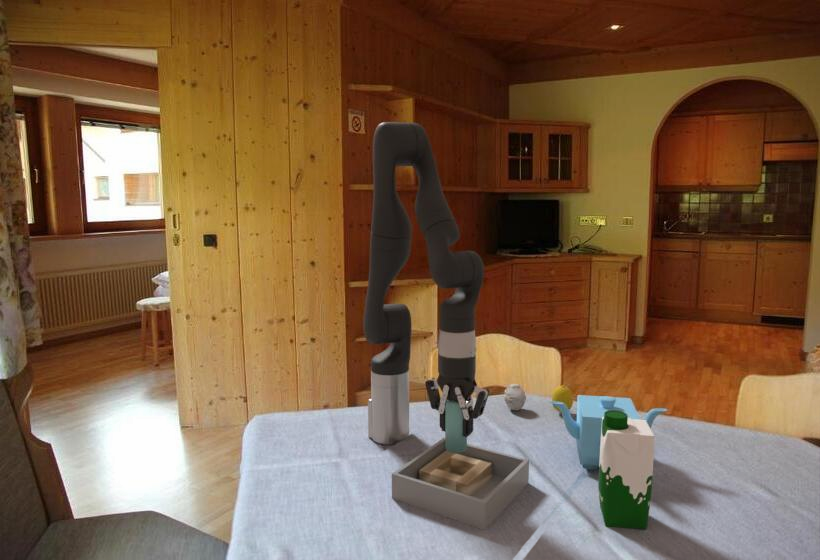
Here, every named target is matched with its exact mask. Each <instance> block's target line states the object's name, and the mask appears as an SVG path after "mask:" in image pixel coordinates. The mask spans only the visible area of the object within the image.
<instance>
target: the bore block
mask: <svg viewBox="0 0 820 560" xmlns="http://www.w3.org/2000/svg"><path fill="white" fill-rule="evenodd" d="M450 471H453V472H456V473H460V474H463V476H460V475H456V474H453V473H449V472H450ZM491 477H492V463H490V462H487V461H483V460H479V459H476V458H472V457H468V456H465V455H461V454H457V453H454V452H449V451H445V452H443V453H442V454H441V455H439V456H438V457H437V458H435V459H434V460H432V461H431V462H430V463H428V464H427V465H426V466H424V467H423V468H421V469H420V470H419V480H421V481H424V482H427V483H430V484H434V485H437V486H440V487H443V488H446V489H450V490H453V491H456V492H459V493H462V494H466V495H469V496H471V495H472V494H473V493H474V492H475V491H477V490H478V489H479V488H480V487H481V486H482V485H483V484H484V483H485V482H486V481H487V480H489V479H490V478H491Z"/></svg>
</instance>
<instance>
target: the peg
mask: <svg viewBox="0 0 820 560" xmlns="http://www.w3.org/2000/svg"><path fill="white" fill-rule="evenodd" d="M466 402H467V401H465V403H466ZM463 419H465V418H464V415H463V412H462V409H461V408H460V405H459V402H456V401H454V400H452V401H450V400H447V401H446V405H445V435H444V436H445V437H444V438H445V449H446V450H447V451H449V452H454V453H460V452H464V451H466V450H467V444H468V437H464V436H463Z"/></svg>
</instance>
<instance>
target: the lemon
mask: <svg viewBox="0 0 820 560" xmlns="http://www.w3.org/2000/svg"><path fill="white" fill-rule="evenodd" d="M552 392H553V393H552V395H551V401H558V402H562V403H564V404H565V405H566V406H567V407H568V409H569V411H570V410H571V409H572V407H573V403H574V396H573V392H572V390H570V388H568V387H567V386H565V385H564V384H562V385H560V386H558V387H556V388H555V389H554V390H553V391H552ZM552 407H553V409H555V410H556V411H557V412H559V413H560V414H561V415H562V413H561V411H560V409H559V408H558V407H557V406H555V405H554V404H552Z"/></svg>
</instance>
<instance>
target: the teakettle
mask: <svg viewBox="0 0 820 560" xmlns="http://www.w3.org/2000/svg"><path fill="white" fill-rule="evenodd" d="M576 398H577V401H576V420H574V419H573V417H572V415H571V412H570V410H569V409H568V407H567V406H566V405H565V404H564V403H562V402H558V401H552V400H550V401H549V403H550V404H552V405H553V404H554V405H555V406H557V407H558V408H559V409H560V411H561V413H562V414H561V413H560V414H561V415H562V419H563V421H564V426H565V428H566V431H567V432H568V433H569V435H571V437H572V438H574V439H575V441H576V447H577V454H578V460H579V465H582V467H584V469H587V470H597V468H598V467H599V461H600V442H601V427H602V417H604V413H605V412H606V411H609V410H616V411H621V412H624V413H626V414H627V415H628V418H631V419H640V420H641V418H640V416H639V414H638V412H637V408H636V406H635V404H634V402H633V400H632V399H631V398H630V397H617V396H616V397H615V396H609V395H608V396H607V395H603V396H601V395H599V396H598V395H585V394H584V395H583V394H578V395H577V397H576ZM667 411H669V410H668V409H667V408H662V407H658V408H657V407H656V408H651V409H650V410H649V411H648V412H647V413H646V415H645V416H644V419H643V420H646V422H647V424H648V425H649V427H650V429H651V428H652V426H653V423H654V421H655V420H656V418H657V417H658V416H659V415H660V414H663V413H665V412H667Z"/></svg>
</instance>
